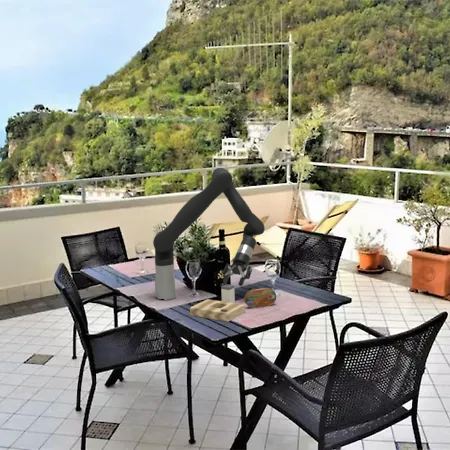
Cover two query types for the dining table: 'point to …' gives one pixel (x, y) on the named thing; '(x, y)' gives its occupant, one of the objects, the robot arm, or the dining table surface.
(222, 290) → the plug
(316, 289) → the dining table surface
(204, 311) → the socket board
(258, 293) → the tin
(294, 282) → the dining table surface
